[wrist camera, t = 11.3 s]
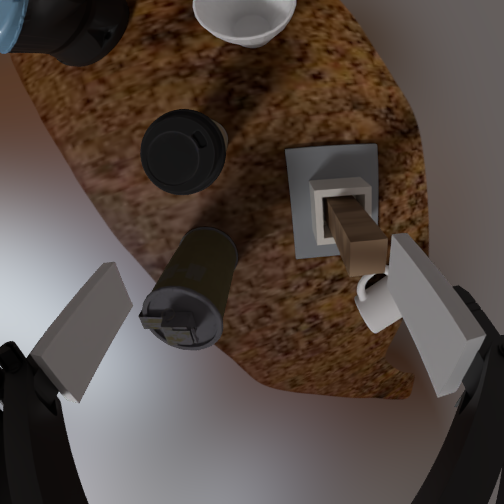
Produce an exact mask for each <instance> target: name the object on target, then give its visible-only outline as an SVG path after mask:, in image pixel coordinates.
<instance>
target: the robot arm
mask: <svg viewBox="0 0 504 504" xmlns="http://www.w3.org/2000/svg"><path fill="white" fill-rule="evenodd" d="M128 16H129V9H128V4H127V2H126V0H0V52H1V53H3V54H4V53H45V54H50V55H51V56H54V57H55V58H57V60H59V61H60V62H61V63H63V64H65V65H69V66H78V67H81V66H87V65H90V64H93V63H95V62H97V61H99V60H100V59H102V58H103V57H104V56H106V55H107V54H108V53H109V52H110V51H111V50H112V49H113V48H114V47H115V45H116V44H117V43H118V41H119V40H120V38H121V36H122V35H123V33H124V31H125V28H126V25H127V22H128ZM387 288H388V290H389V291H390V293H391V295H392V297H393V299H394V301H395V303H396V305H397V307H398V309H399V311H400V313H401V315H402V317H403V319H404V321H405V323H406V325H407V327H408V329H409V331H410V333H411V336H412V338H413V340H414V342H415V344H416V346H417V348H418V351H419V353H420V355H421V358H422V360H423V362H424V365H425V367H426V369H427V372H428V374H429V377H430V379H431V382H432V384H433V387H434V389H435V392H436V394H437V397H441V396H444V395H447V394H450V393H453V392H456V390H457V389H458V387H459V385H460V384H461V382H463V384H464V386H465V391H464V392H463V394H462V395H461V397H460V398H459V400H458V401H457V403H456V405H455V407H457V406H458V405H459V406H458V409H457V411H456V414H455V417H454V419H453V422H452V425H451V427H450V430H449V432H448V434H447V437H446V439H445V441H444V444H443V446H442V448H441V450H440V452H439V454H438V456H437V458H436V460H435V463H434V464H433V466H432V468H431V470H430V472H429V474H428V476H427V478H426V479H425V481H424V483H423V485H422V486H421V488H420V490H419V492H418V493H417V495H416V496H415V498H414V500H413V501H412V503H411V504H488V502H489V499H490V497H491V495H492V492H493V489H494V487H495V485H496V482H497V479H498V477H499V474H500V471H501V468H502V472H501V479H500V485H499V490H498V495H497V500H496V504H504V335H500V334H499V333H498V331H497V330H496V329H495V327H494V326H493V324H492V323H491V321H490V320H489V319H488V317H487V316H486V314H485V313H484V312H483V310H481V308H480V306H479V305H478V304H477V303H476V302H475V300H474V298H473V297H472V296H471V295H470V293H469V292H467V291H466V290H465V289H463V288H462V287H460V286H453V287H452V286H451V285H450V283H449V282H448V281H447V280H446V278H445V277H444V276H443V275H442V273H441V272H440V271H439V270H438V269H437V267H436V266H435V265H434V264H433V263H432V261H431V260H430V259H429V258H428V256H427V255H426V254H425V253H424V252H423V251H422V249H421V248H420V247H419V246H418V245H417V244H416V243H415V242H414V240H413V239H412V238H411V237H410V236H409V235H408V234H407V233H402V234H392V241H391V252H390V262H389V271H388V280H387ZM132 307H133V304H132V302H131V300H130V298H129V296H128V293H127V291H126V288H125V286H124V283H123V281H122V278H121V276H120V273H119V271H118V268H117V266H116V263H115V262H109V263H103V264H102V265H101V266H100V267H99V269H98V270H97V271H96V272H95V273H94V274H93V275H92V276H91V278H90V279H89V280H88V281H87V282H86V283H85V284H84V286H83V287H82V288H81V289H80V290H79V292H78V293H77V294H76V295H75V296H74V297H73V299H72V300H71V301H70V302H69V304H68V305H67V306H66V307H65V308H64V310H63V311H62V312H61V313H60V315H59V316H58V317H57V318H56V320H55V321H54V322H53V323H52V324H51V326H50V327H49V328H48V329H47V331H46V332H45V333H44V335H43V337H41V339H40V340H39V341H38V343H37V344H36V345H35V347H34V348H33V350H32V351H31V353H30V354H29V355H28V357H27V358H25V356H24V355H23V353H22V352H21V350H20V349H19V348H18V346H17V345H16V343H15V342H13V341H9V342H6V343H5V344H3V345H2V346H1V347H0V366H1V367H2V368H3V369H1V367H0V403H1V404H2V405H3V411H2V410H1V409H0V504H88V501H87V498H86V496H85V493H84V490H83V488H82V485H81V482H80V479H79V476H78V473H77V470H76V466H75V463H74V459H73V456H72V453H71V449H70V445H69V440H68V436H67V432H66V428H65V423H64V418H63V413H62V407H61V402H60V400H59V399H58V397H57V394H58V392H60V393H61V394H62V395H63V396H64V397H65V398H66V400H69V401H72V402H75V403H80V401H81V399H82V396H83V395H84V393H85V391H86V389H87V387H88V385H89V383H90V381H91V379H92V377H93V376H94V374H95V372H96V370H97V368H98V366H99V364H100V362H101V361H102V359H103V357H104V355H105V353H106V351H107V350H108V348H109V346H110V344H111V343H112V341H113V339H114V337H115V335H116V334H117V332H118V330H119V329H120V327H121V325H122V323H123V322H124V320H125V318H126V317H127V315H128V313H129V312H130V310H131V308H132Z"/></svg>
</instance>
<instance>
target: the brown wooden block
mask: <svg viewBox="0 0 504 504" xmlns="http://www.w3.org/2000/svg"><path fill="white" fill-rule="evenodd" d="M324 202H325V220H326V222H327V224H328V227H329V229H330V231H331V233H332V236H333V238H334V240H335V243H336V245H337V247H338V250H339V252H340V255H341V257H342V259H343V262H344V264H345V267H346V269H347V272H348V274H349V277H354V276H362V275H371V274H379V273H385V267H386V256H387V245H388V238H387V237H386V236H385V234H384V233H383V232H382V230H381V229H380V228H379V227H378V225H377V224H376V223H375V222H374V220H373V219H372V218H371V217H370V216H369V214H368V213H367V212H366V211H365V210H364V208H363V207H362V206H361V205H360V204H359V202H358V201H357V200H356V199H355V198H354V197H353V195H345V196H332V197H324Z"/></svg>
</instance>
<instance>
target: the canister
mask: <svg viewBox="0 0 504 504" xmlns="http://www.w3.org/2000/svg"><path fill="white" fill-rule="evenodd" d="M237 262H238V252H237V249H236V246H235V244H234V242H233V241H232V240H231V238H230V237H229V236H228V235H226V234H225V233H224V232H222V231H220V230H218V229H215V228H211V227H199V228H196V229H193V230H191V231H189V232H188V233H187V234H186V235H185V236H184V237H183V238H182V240H181V242H180V245H179V247H178V249H177V250H176V252H175V253H174V255H173V257H172V258H171V260H170V262H169V263H168V265H167V266H166V268H165V270H164V271H163V273H162V275H161V276H160V278H159V280H158V282H157V283H156V285H155V287H154V288H153V290H152V292H151V293H150V294H149V295H148V296H147V297H146V299H145V301H144V303H143V308H142V311H141V312H140V314H139V318H140V320H141V323H142V325H143V327H144V329H150V330H151V332H152V333H153V334H154V335H155V336H156V337H157V338H159V339H160V340H162V341H163V342H165V343H166V344H168V345H170V346H173V347H176V348H179V349H183V350H200V349H204V348H207V347H210V346H212V345H213V344H214V343H215V342H217V341H218V339H219V338H220V336H221V334H222V331H223V316H224V312H225V307H226V303H227V298H228V294H229V289H230V285H231V281H232V276H233V272H234V269H235V268H236V265H237Z"/></svg>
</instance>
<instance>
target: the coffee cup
mask: <svg viewBox="0 0 504 504" xmlns="http://www.w3.org/2000/svg"><path fill="white" fill-rule="evenodd" d="M227 144H228V136H227V133H226V131H225V129H224V128H223V127H222V126H221V125H220V124H219V123H217V122H216V121H214V120H212V119H210V118H209V117H208V116H206V115H204V114H202V113H200V112H198V111H194V110H189V109H179V110H174V111H170V112H168V113H166V114H164V115H162V116H160V117H159V118H158V119H156V120H155V121H154V122H153V123H152V124H151V125H150V126H149V128H148V129H147V131H146V133H145V135H144V137H143V140H142V143H141V153H140V154H141V162H142V166H143V168H144V171H145V173H146V175H147V176H148V178H149V179H150V180H151V181H152V182H153V183H154V184H155V185H156V186H157V187H158V188H160V189H162V190H163V191H166V192H168V193H171V194H176V195H189V194H193V193H196V192H199V191H202V190H204V189H205V188H207V187H208V186H210V185H211V184H212V183H213V182H214V181H215V180H216V179H217V177H218V176H219V174H220V173H221V171H222V169H223V166H224V163H225V158H226V150H227Z"/></svg>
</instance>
